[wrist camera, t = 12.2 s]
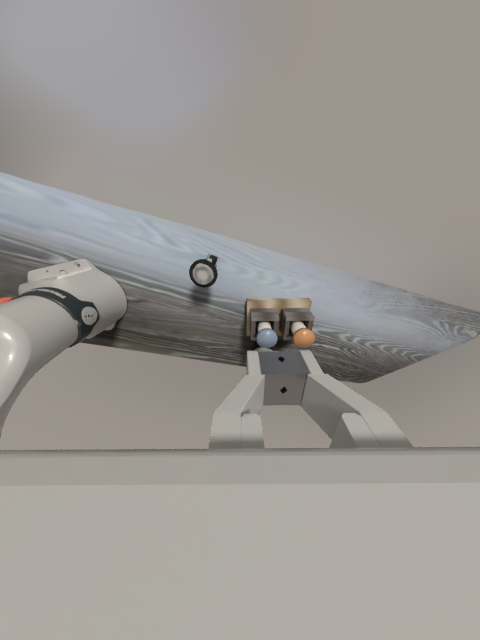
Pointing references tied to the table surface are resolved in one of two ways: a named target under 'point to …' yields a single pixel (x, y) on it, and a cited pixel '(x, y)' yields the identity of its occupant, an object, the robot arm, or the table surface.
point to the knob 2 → (301, 334)
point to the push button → (204, 271)
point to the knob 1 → (265, 334)
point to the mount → (278, 315)
